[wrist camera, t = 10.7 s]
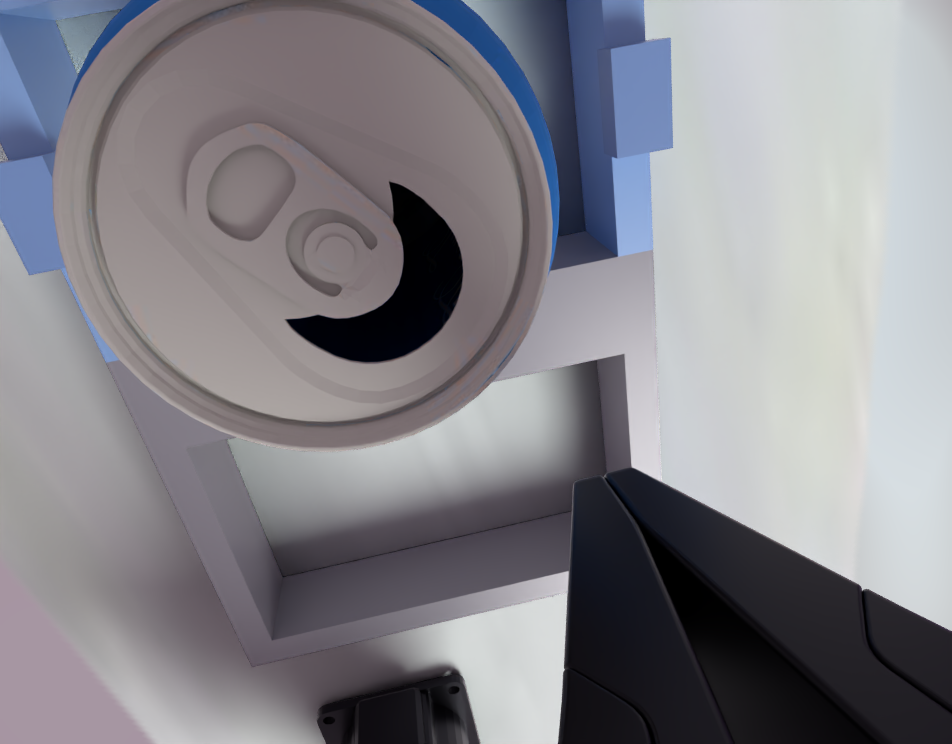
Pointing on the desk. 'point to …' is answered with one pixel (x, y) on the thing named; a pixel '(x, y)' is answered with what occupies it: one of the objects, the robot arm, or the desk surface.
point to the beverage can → (307, 211)
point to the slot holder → (544, 348)
